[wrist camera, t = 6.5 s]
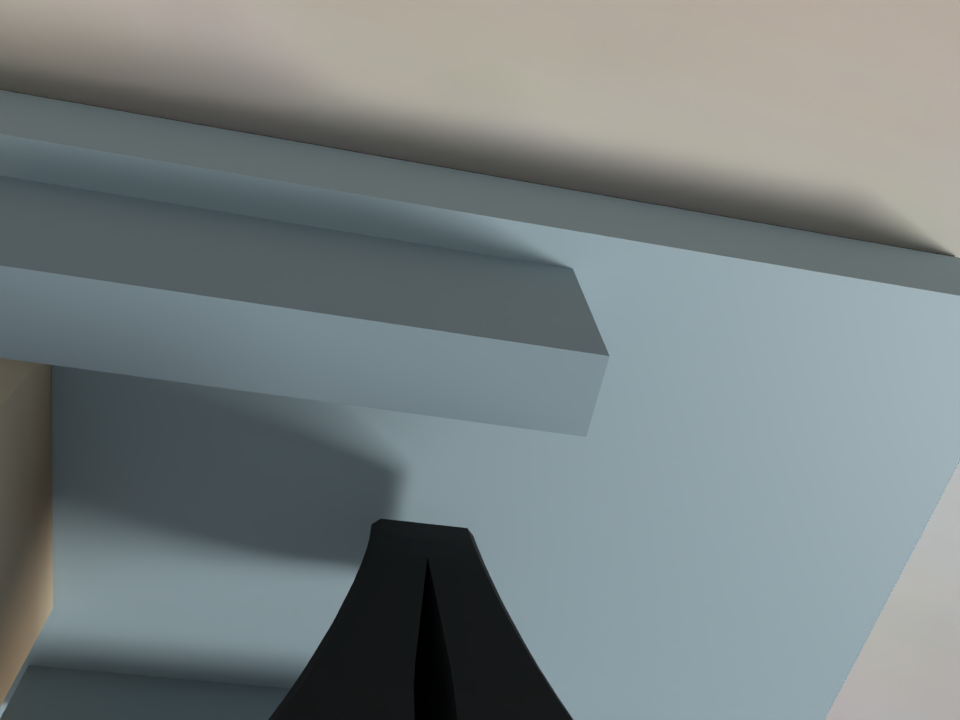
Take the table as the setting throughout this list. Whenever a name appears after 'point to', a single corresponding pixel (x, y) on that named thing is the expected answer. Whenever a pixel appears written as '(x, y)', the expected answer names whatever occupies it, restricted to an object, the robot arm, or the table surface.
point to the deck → (455, 419)
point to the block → (24, 511)
